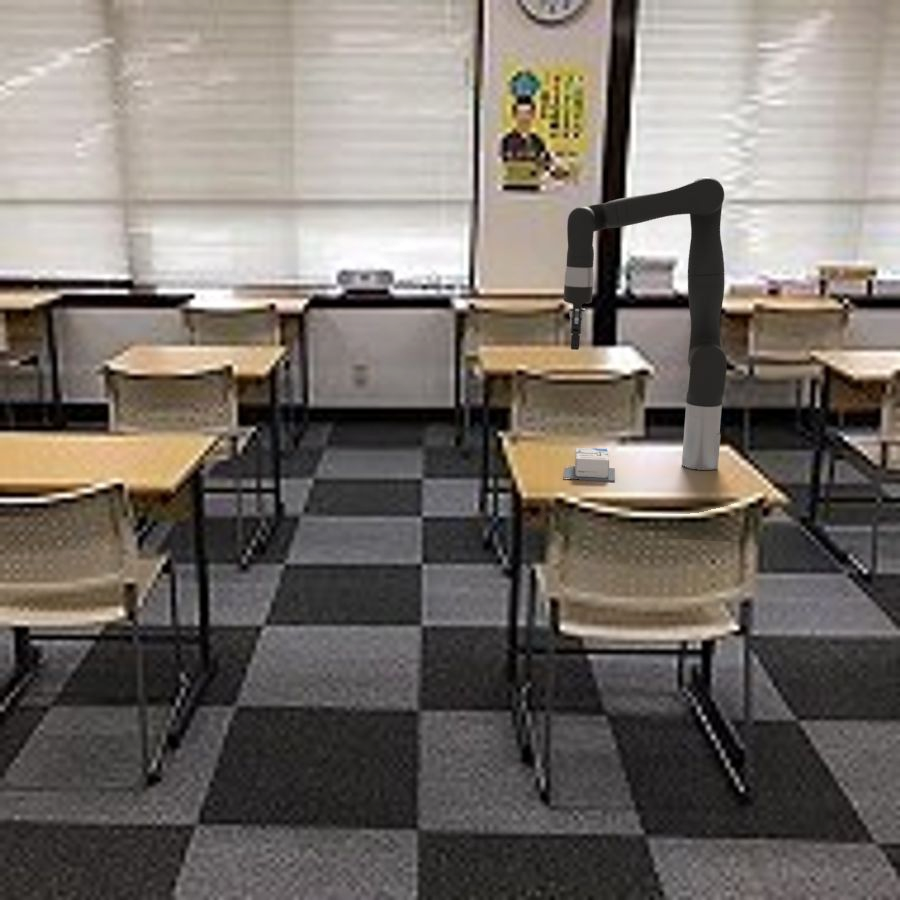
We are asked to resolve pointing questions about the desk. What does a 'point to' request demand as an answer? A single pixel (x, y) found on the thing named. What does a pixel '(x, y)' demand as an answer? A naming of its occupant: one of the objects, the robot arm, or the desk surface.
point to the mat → (570, 474)
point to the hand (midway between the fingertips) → (574, 349)
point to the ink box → (591, 462)
